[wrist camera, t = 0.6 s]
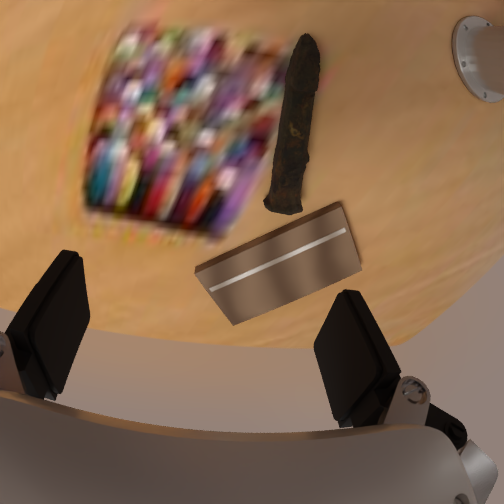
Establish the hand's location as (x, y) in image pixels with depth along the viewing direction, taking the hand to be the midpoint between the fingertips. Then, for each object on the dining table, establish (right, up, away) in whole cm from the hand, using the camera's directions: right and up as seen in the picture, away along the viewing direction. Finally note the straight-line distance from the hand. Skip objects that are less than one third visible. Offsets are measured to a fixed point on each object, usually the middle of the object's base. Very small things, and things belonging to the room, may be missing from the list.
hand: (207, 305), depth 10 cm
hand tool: (+5, +16, +19) cm, 25 cm away
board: (+5, 0, +28) cm, 28 cm away
